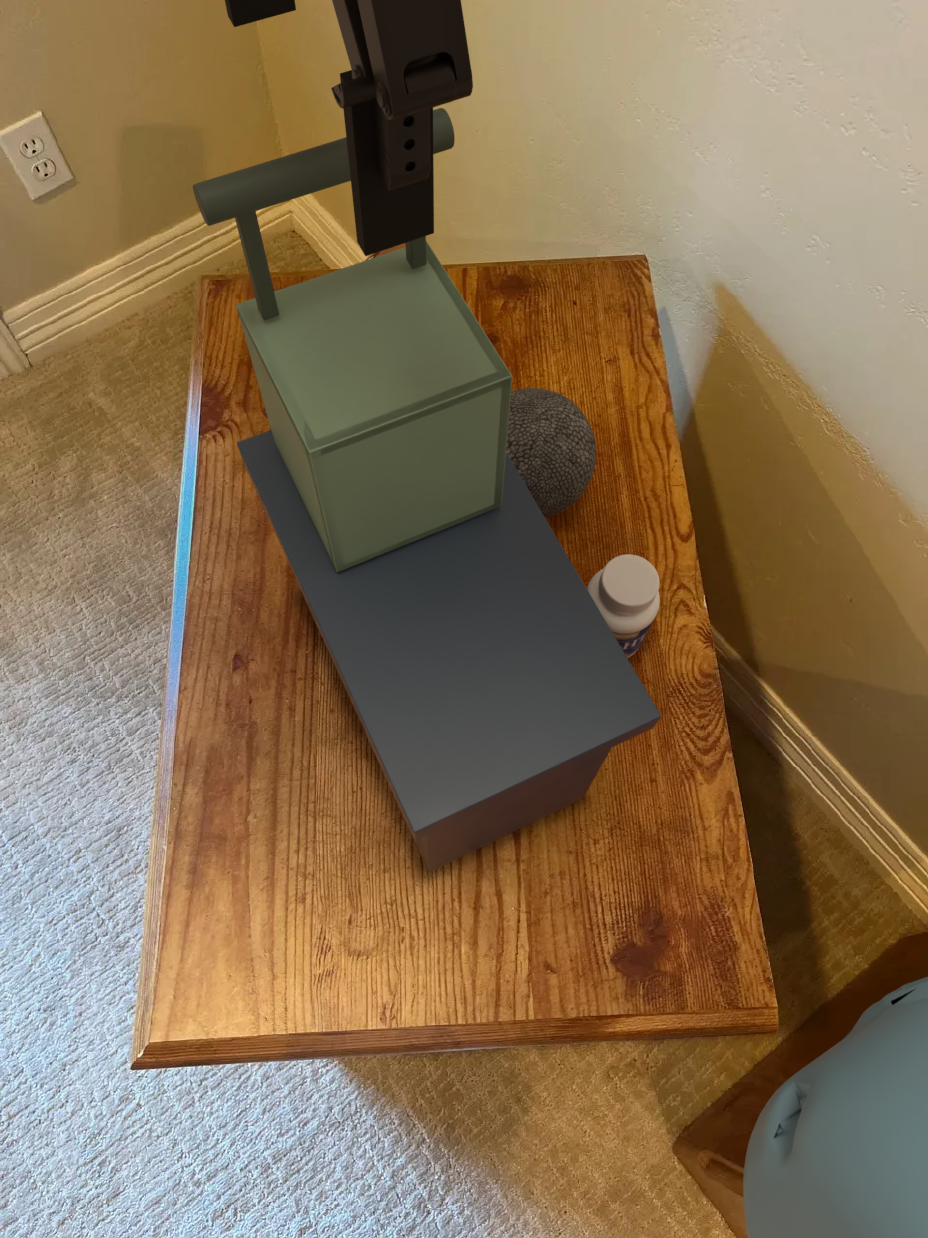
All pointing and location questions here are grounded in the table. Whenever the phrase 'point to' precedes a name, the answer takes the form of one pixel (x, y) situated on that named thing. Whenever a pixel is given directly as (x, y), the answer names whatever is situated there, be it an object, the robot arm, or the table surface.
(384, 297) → the basket
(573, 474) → the decorative ball
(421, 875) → the table surface
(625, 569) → the pill bottle
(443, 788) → the gray rectangular block
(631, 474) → the table surface
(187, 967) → the table surface
